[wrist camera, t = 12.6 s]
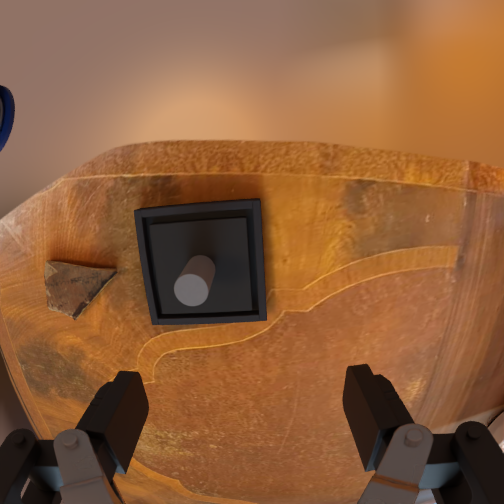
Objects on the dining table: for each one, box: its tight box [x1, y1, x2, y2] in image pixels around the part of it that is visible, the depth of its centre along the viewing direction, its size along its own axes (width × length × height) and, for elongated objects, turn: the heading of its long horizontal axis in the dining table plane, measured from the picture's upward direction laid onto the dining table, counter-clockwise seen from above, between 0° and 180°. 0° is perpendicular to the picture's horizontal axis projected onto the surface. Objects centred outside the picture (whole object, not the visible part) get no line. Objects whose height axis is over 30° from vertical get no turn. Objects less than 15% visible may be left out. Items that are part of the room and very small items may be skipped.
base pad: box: [134, 198, 267, 325], centre depth 33 cm, size 13×13×2 cm
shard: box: [44, 261, 117, 320], centre depth 34 cm, size 11×8×2 cm
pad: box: [149, 216, 252, 314], centre depth 30 cm, size 10×10×7 cm
